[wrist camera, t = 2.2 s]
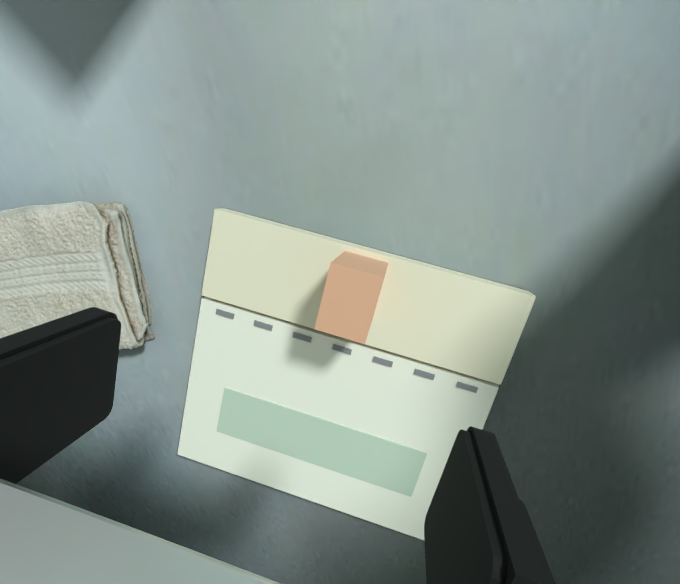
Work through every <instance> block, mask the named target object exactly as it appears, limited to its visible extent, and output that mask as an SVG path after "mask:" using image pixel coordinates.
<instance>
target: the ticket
mask: <svg viewBox="0 0 680 584" xmlns="http://www.w3.org/2000/svg"><path fill="white" fill-rule="evenodd" d="M498 389H499V387H498V385H497V384H496V383H493V382H489V381H486V380H483V379H479V378H476V377H473V376H469V375H466V374H463V373H459V372H456V371H453V370H449V369H446V368H443V367H439V366H436V365H433V364H429V363H426V362H423V361H419V360H416V359H413V358H409V357H406V356H403V355H399V354H396V353H393V352H389V351H386V350H383V349H379V348H376V347H373V346H369V345H366V344H362V343H358V342H355V341H352V340H348V339H345V338H342V337H338V336H335V335H332V334H328V333H325V332H322V331H318V330H315V329H312V328H309V327H306V326H302V325H299V324H296V323H292V322H289V321H286V320H282V319H279V318H276V317H272V316H269V315H266V314H262V313H259V312H256V311H252V310H249V309H246V308H242V307H239V306H236V305H232V304H229V303H226V302H222V301H219V300H216V299H212V298H209V297H204V298H202V300H201V306H200V312H199V319H198V325H197V332H196V338H195V345H194V351H193V358H192V364H191V371H190V377H189V384H188V390H187V397H186V403H185V410H184V416H183V422H182V429H181V435H180V442H179V448H178V455H181V456H184V457H186V458H189V459H192V460H195V461H198V462H201V463H204V464H207V465H209V466H212V467H215V468H218V469H221V470H224V471H227V472H229V473H232V474H235V475H238V476H241V477H244V478H247V479H250V480H252V481H255V482H258V483H261V484H264V485H267V486H270V487H272V488H275V489H278V490H281V491H284V492H287V493H290V494H293V495H295V496H298V497H301V498H304V499H307V500H310V501H313V502H316V503H318V504H321V505H324V506H327V507H330V508H333V509H336V510H338V511H341V512H344V513H347V514H350V515H353V516H356V517H359V518H361V519H364V520H367V521H370V522H373V523H376V524H379V525H382V526H384V527H387V528H390V529H393V530H396V531H399V532H402V533H404V534H407V535H410V536H413V537H416V538H419V539H422V540H425V539H424V523H425V518H426V514H427V511H428V509H429V506H430V504H431V501H432V498H433V496H434V493H435V491H436V488H437V486H438V483H439V480H440V478H441V475H442V473H443V470H444V468H445V465H446V462H447V460H448V457H449V455H450V452H451V450H452V447H453V444H454V442H455V439H456V437H457V434H458V432H459V431H460V430H461V429H462V430H465V431H467V429H468V428H469V427H470V426H472V427H475V428H478V429H481V430H482V429H483V427H484V424H485V422H486V419H487V417H488V414H489V412H490V409H491V407H492V404H493V402H494V399H495V397H496V394H497V392H498Z"/></svg>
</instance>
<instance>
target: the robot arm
mask: <svg viewBox="0 0 680 584" xmlns="http://www.w3.org/2000/svg"><path fill="white" fill-rule="evenodd" d="M120 335H121V322H120V321H119V320H118V318H117V315H116V314H115V313H112V312H109V311H106V310H103V309H99V308H96V307H90V308H87V309H84V310H82V311H79V312H76V313H73V314H70V315H67V316H64V317H61V318H58V319H55V320H52V321H49V322H46V323H44V324H41V325H38V326H35V327H32V328H29V329H26V330H23V331H20V332H17V333H14V334H11V335H9V336H6V337H3V338H0V584H280V583H278V582H275V581H273V580H270V579H267V578H265V577H262V576H259V575H257V574H254V573H252V572H249V571H246V570H244V569H241V568H238V567H236V566H233V565H231V564H228V563H225V562H223V561H220V560H217V559H215V558H212V557H210V556H207V555H204V554H202V553H199V552H196V551H194V550H191V549H188V548H186V547H183V546H180V545H178V544H175V543H172V542H170V541H167V540H164V539H162V538H159V537H156V536H154V535H151V534H148V533H146V532H143V531H140V530H138V529H135V528H132V527H130V526H127V525H124V524H122V523H119V522H116V521H114V520H111V519H108V518H106V517H103V516H100V515H98V514H95V513H92V512H90V511H87V510H84V509H81V508H79V507H76V506H73V505H71V504H68V503H65V502H63V501H60V500H57V499H55V498H52V497H49V496H46V495H44V494H41V493H38V492H35V491H33V490H30V489H27V488H25V487H22V486H19V485H16V483H18V482H19V481H20V480H22V479H23V478H24V477H26V476H27V475H29V474H30V473H31V472H33V471H34V470H35V469H37V468H38V467H40V466H41V465H42V464H44V463H45V462H46V461H48V460H49V459H51V458H52V457H53V456H55V455H56V454H57V453H59V452H60V451H62V450H63V449H64V448H66V447H67V446H68V445H70V444H71V443H73V442H74V441H75V440H77V439H78V438H79V437H81V436H82V435H84V434H85V433H86V432H88V431H89V430H90V429H92V428H93V427H94V426H96V425H97V424H99V423H100V422H101V421H103V420H104V419H105V418H106V417H107V416H108V415H109V413H110V412H111V409H112V406H113V399H114V390H115V381H116V371H117V362H118V353H119V344H120ZM424 539H425V558H426V577H427V584H555V582H554V579H553V576H552V574H551V571H550V569H549V566H548V563H547V561H546V558H545V556H544V553H543V551H542V548H541V545H540V543H539V540H538V538H537V535H536V532H535V530H534V527H533V525H532V522H531V520H530V517H529V514H528V512H527V509H526V507H525V505H524V503H523V502H522V501H521V500H520V499H519V498H518V496H517V493H516V490H515V488H514V485H513V482H512V480H511V477H510V474H509V472H508V469H507V466H506V464H505V461H504V458H503V456H502V453H501V450H500V448H499V445H498V442H497V440H496V437H495V435H494V434H493V433H491V432H487V431H484V430H481V429H478V428H475V427H472V426H470V427H469V428H468V429H467V431H465V430H462V429H461V430H460V431H459V432H458V434H457V437H456V439H455V442H454V444H453V447H452V450H451V452H450V455H449V457H448V460H447V462H446V465H445V468H444V470H443V473H442V475H441V478H440V480H439V483H438V486H437V488H436V491H435V493H434V496H433V498H432V501H431V504H430V506H429V509H428V511H427V514H426V518H425V523H424Z"/></svg>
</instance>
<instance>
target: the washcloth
mask: <svg viewBox="0 0 680 584" xmlns="http://www.w3.org/2000/svg"><path fill="white" fill-rule="evenodd" d="M90 307H96V308H99V309H103V310H106V311H109V312H112V313H115V314H116V315H117V318H118V320H119V321H120V322H121V335H120V344H119V350H120V349H132V348H137V347H139V346H142V345H143V343H144V341H148V340H150V339H154V338H155V336H154V335H153V334H152V332H151V330H150V328H149V325H150V324H151V317H152V309H151V303H150V299H149V294H148V289H147V285H146V282H145V278H144V275H143V273H142V269H141V265H140V259H139V253H138V248H137V243H136V241H135V235H134V231H133V228H132V223H131V219H130V215H129V213H128V210H127V207H126V206H125V205H124V204H122V203H120V204H117V203H111V204H110V203H109V204H99V205H95V204H91V203H89V202H86V201H75V202H69V203H60V204H48V205H28V206H24V207H18V208H13V209H8V210H4V211H0V338H3V337H6V336H9V335H11V334H14V333H17V332H20V331H23V330H26V329H29V328H32V327H35V326H38V325H41V324H44V323H46V322H49V321H52V320H55V319H58V318H61V317H64V316H67V315H70V314H73V313H76V312H79V311H82V310H84V309H87V308H90Z"/></svg>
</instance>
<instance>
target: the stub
mask: <svg viewBox="0 0 680 584" xmlns="http://www.w3.org/2000/svg"><path fill="white" fill-rule="evenodd" d="M202 296H206V297H209V298H212V299H216V300H219V301H222V302H226V303H229V304H232V305H236V306H239V307H242V308H246V309H249V310H252V311H256V312H259V313H262V314H266V315H269V316H272V317H276V318H279V319H282V320H286V321H289V322H292V323H296V324H299V325H302V326H306V327H309V328H312V329H315V330H318V331H322V332H325V333H328V334H332V335H335V336H338V337H342V338H345V339H348V340H352V341H355V342H358V343H362V344H366V345H369V346H373V347H376V348H379V349H383V350H386V351H389V352H393V353H396V354H399V355H403V356H406V357H409V358H413V359H416V360H419V361H423V362H426V363H429V364H433V365H436V366H439V367H443V368H446V369H449V370H453V371H456V372H459V373H463V374H466V375H469V376H473V377H476V378H479V379H483V380H486V381H489V382H493V383H496V384H499V385H501V383H502V381H503V378H504V376H505V373H506V371H507V368H508V366H509V363H510V361H511V358H512V356H513V353H514V351H515V348H516V346H517V343H518V341H519V338H520V336H521V333H522V331H523V328H524V326H525V323H526V321H527V318H528V316H529V313H530V311H531V308H532V306H533V303H534V301H535V298H536V296H535V295H533V294H532V293H531V292H529V291H526V290H522V289H519V288H515V287H511V286H508V285H504V284H500V283H497V282H493V281H489V280H486V279H482V278H478V277H475V276H471V275H467V274H464V273H460V272H456V271H453V270H449V269H445V268H442V267H438V266H434V265H431V264H427V263H423V262H420V261H416V260H412V259H409V258H405V257H401V256H398V255H394V254H390V253H387V252H383V251H379V250H376V249H372V248H368V247H365V246H361V245H357V244H354V243H350V242H346V241H343V240H339V239H335V238H332V237H328V236H324V235H321V234H317V233H313V232H310V231H306V230H302V229H299V228H295V227H291V226H288V225H284V224H280V223H277V222H273V221H269V220H266V219H262V218H258V217H255V216H251V215H247V214H243V213H240V212H236V211H232V210H229V209H225V208H223V209H215V211H214V218H213V224H212V231H211V237H210V243H209V250H208V256H207V263H206V269H205V276H204V282H203V289H202Z"/></svg>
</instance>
